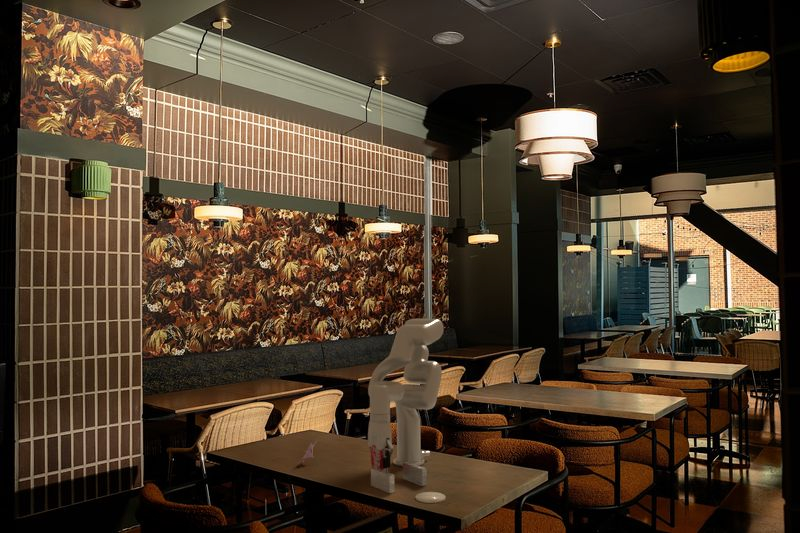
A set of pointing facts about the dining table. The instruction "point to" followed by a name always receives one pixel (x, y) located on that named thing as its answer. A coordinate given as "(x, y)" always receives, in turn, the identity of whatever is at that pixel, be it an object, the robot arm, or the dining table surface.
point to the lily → (309, 453)
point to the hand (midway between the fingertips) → (380, 465)
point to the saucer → (430, 497)
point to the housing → (410, 473)
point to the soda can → (377, 459)
